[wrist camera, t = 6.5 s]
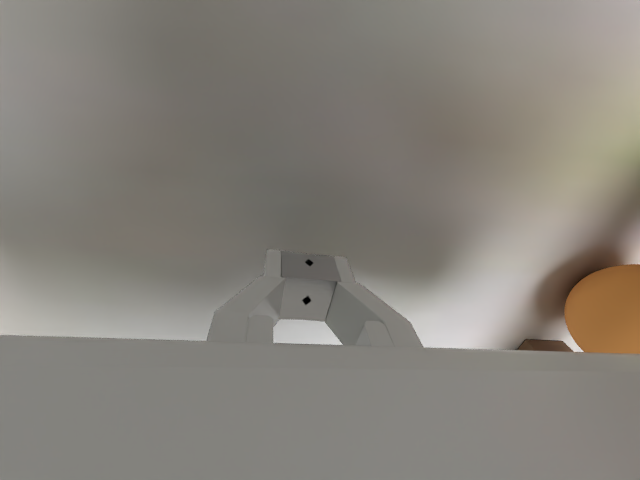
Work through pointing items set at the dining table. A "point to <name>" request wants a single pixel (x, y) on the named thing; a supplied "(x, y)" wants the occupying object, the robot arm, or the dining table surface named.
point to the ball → (606, 311)
